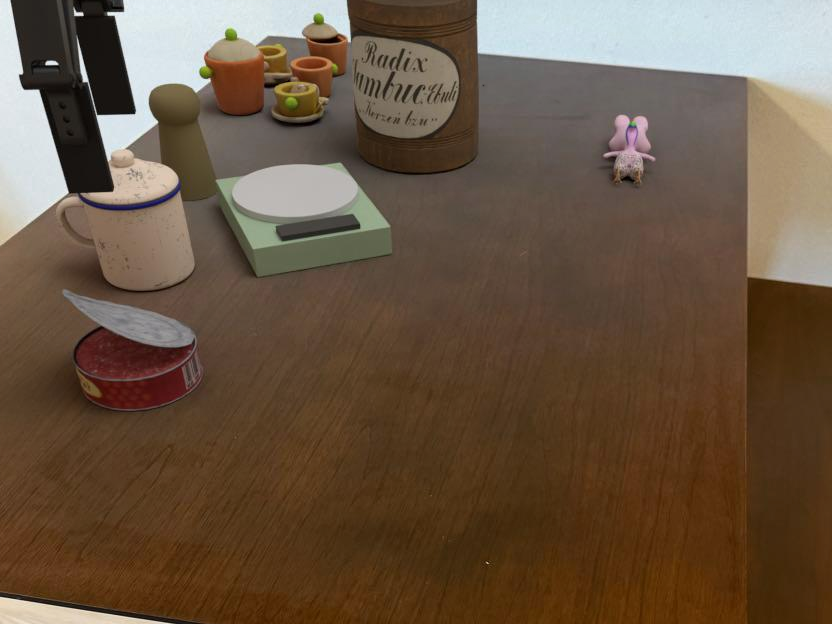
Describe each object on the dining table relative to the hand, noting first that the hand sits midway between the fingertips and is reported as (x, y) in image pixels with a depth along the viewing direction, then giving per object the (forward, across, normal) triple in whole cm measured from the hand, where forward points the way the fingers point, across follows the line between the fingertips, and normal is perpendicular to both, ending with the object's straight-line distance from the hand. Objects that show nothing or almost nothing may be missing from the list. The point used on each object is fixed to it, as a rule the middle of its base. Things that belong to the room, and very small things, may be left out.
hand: (105, 149), depth 67 cm
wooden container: (+20, +48, -26) cm, 59 cm away
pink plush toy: (+20, +43, -52) cm, 70 cm away
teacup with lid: (+20, +21, +5) cm, 29 cm away
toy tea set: (+20, +70, -10) cm, 74 cm away
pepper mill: (+20, +40, 0) cm, 44 cm away
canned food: (+20, +2, +2) cm, 20 cm away
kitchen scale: (+20, +28, -12) cm, 37 cm away
